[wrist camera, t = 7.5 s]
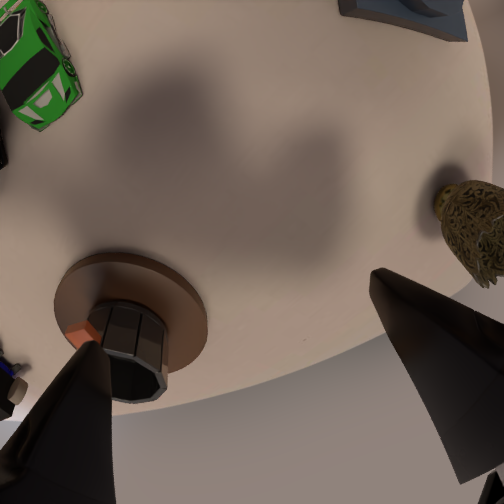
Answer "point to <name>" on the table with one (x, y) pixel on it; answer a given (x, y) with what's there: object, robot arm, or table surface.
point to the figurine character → (10, 389)
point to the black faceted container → (128, 349)
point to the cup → (474, 227)
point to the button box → (413, 15)
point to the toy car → (34, 65)
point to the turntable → (136, 299)
